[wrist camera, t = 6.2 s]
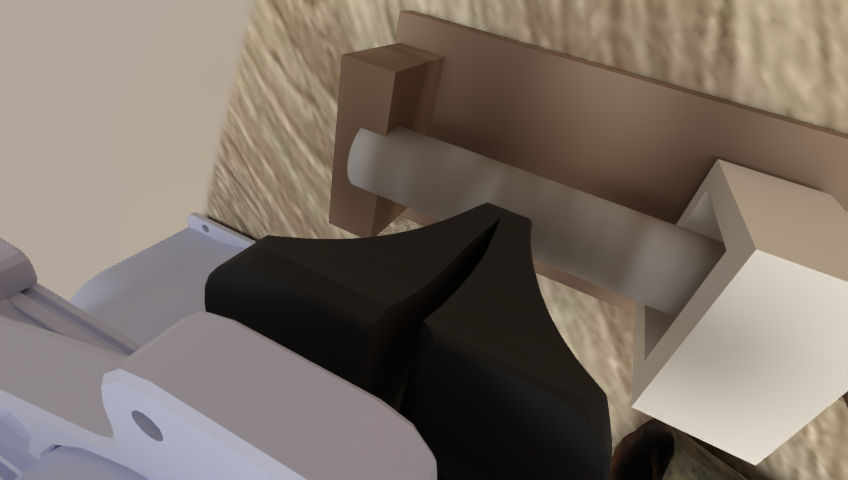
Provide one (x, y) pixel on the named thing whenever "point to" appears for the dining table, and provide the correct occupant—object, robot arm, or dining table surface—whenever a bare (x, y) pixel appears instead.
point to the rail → (555, 155)
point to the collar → (752, 318)
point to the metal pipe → (666, 457)
